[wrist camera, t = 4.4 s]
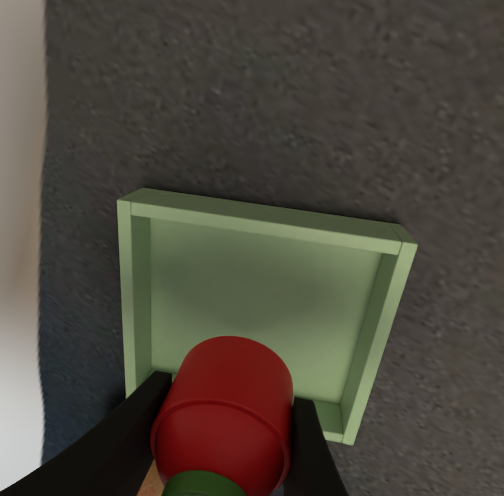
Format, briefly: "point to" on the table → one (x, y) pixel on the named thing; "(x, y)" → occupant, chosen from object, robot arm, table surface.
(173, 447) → the red cylinder green cap
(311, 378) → the tray
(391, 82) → the table surface
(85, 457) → the robot arm
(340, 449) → the table surface
